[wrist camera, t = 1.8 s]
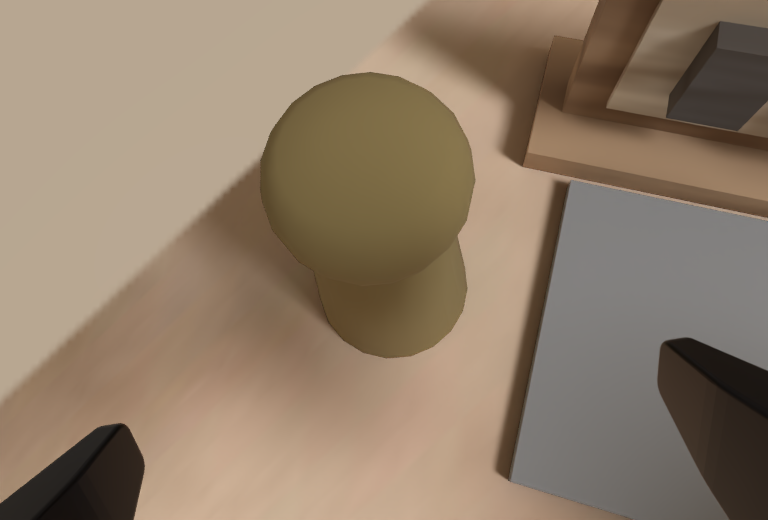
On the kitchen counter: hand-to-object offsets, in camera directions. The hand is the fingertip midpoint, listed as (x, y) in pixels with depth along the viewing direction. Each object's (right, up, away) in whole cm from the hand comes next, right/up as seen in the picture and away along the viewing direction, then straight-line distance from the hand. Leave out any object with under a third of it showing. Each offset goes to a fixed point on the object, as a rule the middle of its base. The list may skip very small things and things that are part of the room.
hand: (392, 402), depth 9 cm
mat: (+12, -1, +11) cm, 16 cm away
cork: (0, +1, +13) cm, 13 cm away
